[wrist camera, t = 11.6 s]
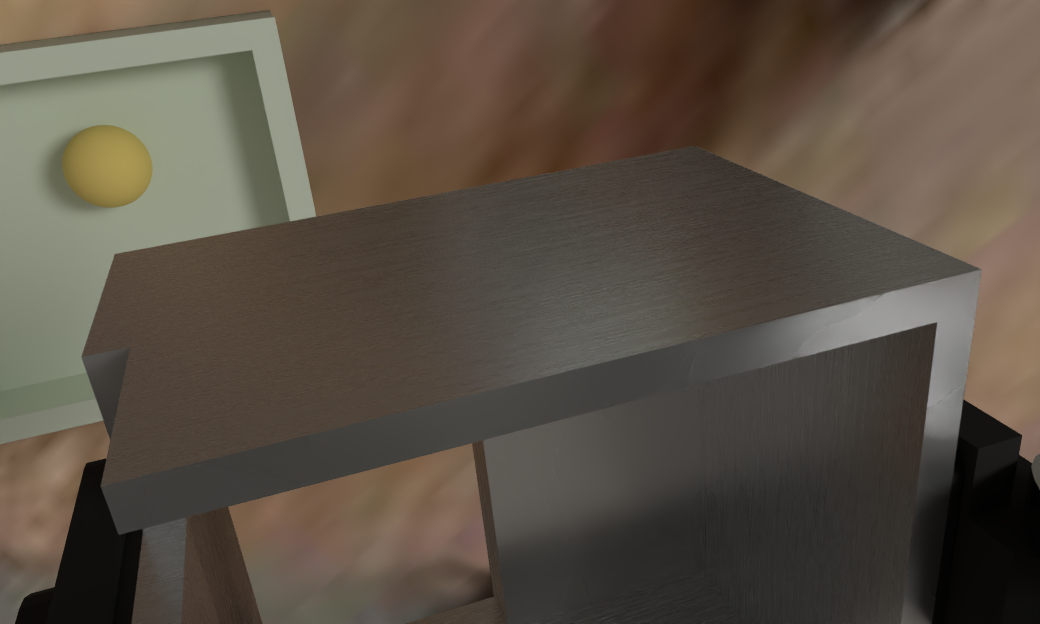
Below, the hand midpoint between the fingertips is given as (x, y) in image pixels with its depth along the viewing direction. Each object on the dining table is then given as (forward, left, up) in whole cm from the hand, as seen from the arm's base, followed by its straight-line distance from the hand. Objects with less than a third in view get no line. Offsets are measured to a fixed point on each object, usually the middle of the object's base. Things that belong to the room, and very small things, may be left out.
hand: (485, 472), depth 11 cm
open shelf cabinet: (0, 0, -1) cm, 1 cm away
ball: (+2, -7, -24) cm, 25 cm away
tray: (+3, -8, -28) cm, 29 cm away
